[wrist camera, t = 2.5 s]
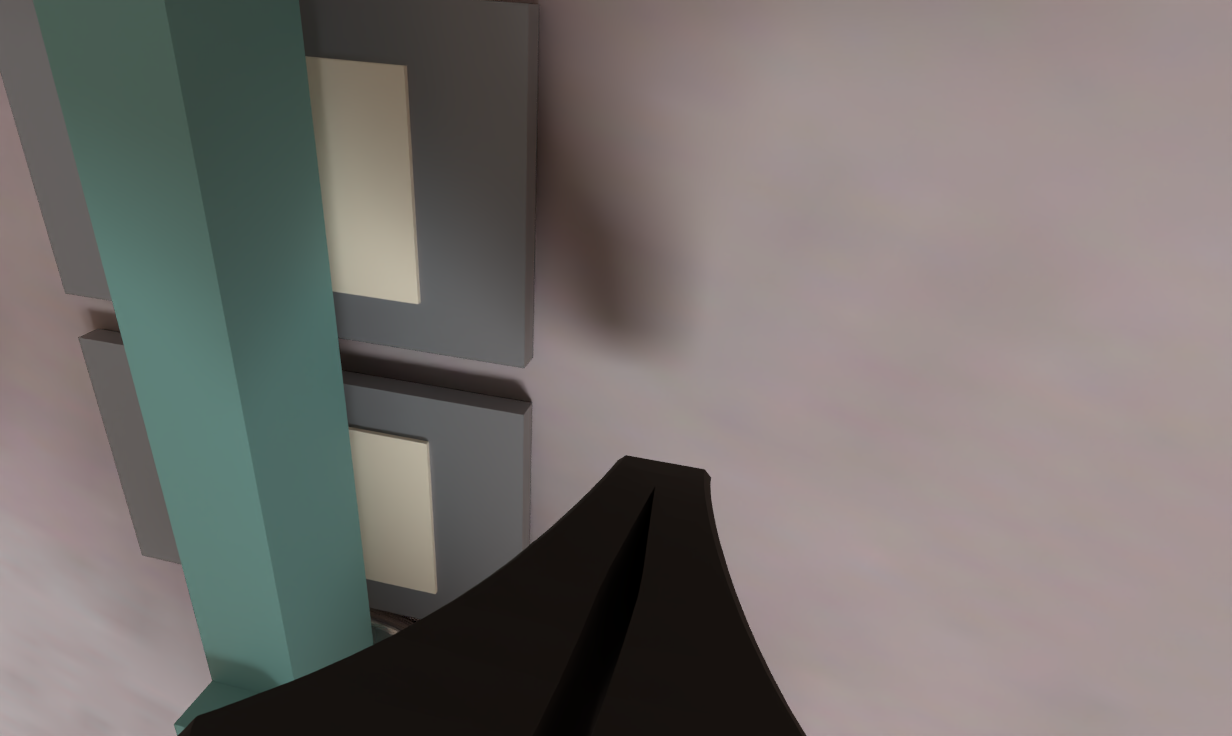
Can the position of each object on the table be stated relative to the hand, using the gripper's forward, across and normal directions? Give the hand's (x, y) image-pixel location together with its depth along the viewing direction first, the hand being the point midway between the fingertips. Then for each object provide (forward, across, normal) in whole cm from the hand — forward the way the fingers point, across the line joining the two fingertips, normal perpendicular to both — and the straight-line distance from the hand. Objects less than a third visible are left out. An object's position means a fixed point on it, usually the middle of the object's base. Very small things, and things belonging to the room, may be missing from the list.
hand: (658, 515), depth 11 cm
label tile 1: (+3, +8, -4) cm, 9 cm away
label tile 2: (+3, +8, +3) cm, 9 cm away
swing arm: (+1, +7, +1) cm, 7 cm away
